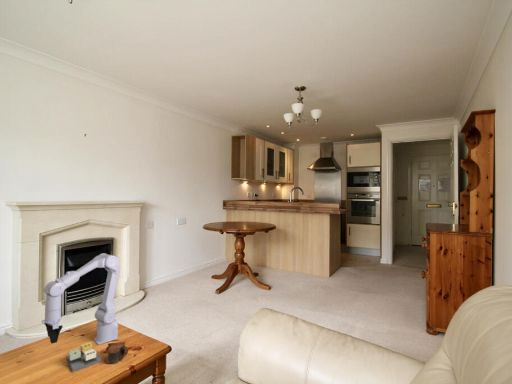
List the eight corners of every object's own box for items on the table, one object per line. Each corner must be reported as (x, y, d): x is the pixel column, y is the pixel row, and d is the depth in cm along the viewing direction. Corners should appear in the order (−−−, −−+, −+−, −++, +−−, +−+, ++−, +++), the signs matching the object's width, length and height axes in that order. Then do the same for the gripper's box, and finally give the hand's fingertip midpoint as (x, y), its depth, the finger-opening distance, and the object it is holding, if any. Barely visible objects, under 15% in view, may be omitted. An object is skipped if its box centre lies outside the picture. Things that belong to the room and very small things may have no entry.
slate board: (93, 350, 135) (93, 347, 135) (101, 361, 125) (101, 358, 125) (65, 359, 127) (65, 356, 127) (71, 372, 117) (71, 369, 117)
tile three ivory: (93, 353, 127) (93, 348, 127) (96, 357, 124) (96, 351, 124) (83, 356, 124) (83, 351, 124) (85, 360, 122) (86, 355, 122)
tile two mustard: (90, 346, 133) (90, 341, 133) (92, 349, 130) (92, 344, 130) (80, 349, 130) (80, 343, 131) (82, 352, 128) (82, 347, 128)
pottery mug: (97, 364, 124) (101, 343, 128) (113, 363, 132) (116, 344, 136) (120, 362, 121) (123, 340, 126) (135, 361, 129) (137, 341, 133)
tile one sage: (78, 353, 127) (78, 348, 127) (80, 357, 124) (80, 351, 124) (68, 356, 124) (68, 351, 124) (70, 360, 121) (70, 355, 121)
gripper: (40, 306, 128) (39, 336, 127) (44, 316, 117) (43, 349, 117) (58, 302, 132) (57, 331, 132) (64, 312, 122) (63, 343, 122)
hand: (52, 339), depth 125 cm, fingers open, 7 cm apart
